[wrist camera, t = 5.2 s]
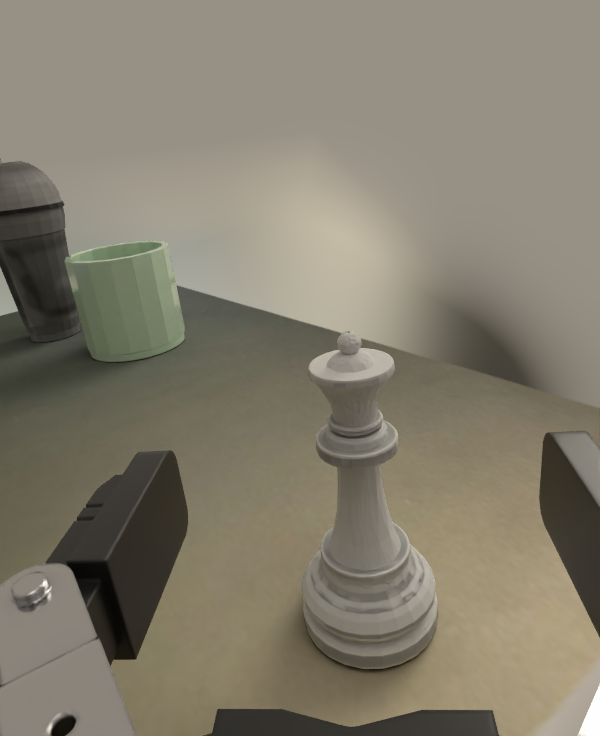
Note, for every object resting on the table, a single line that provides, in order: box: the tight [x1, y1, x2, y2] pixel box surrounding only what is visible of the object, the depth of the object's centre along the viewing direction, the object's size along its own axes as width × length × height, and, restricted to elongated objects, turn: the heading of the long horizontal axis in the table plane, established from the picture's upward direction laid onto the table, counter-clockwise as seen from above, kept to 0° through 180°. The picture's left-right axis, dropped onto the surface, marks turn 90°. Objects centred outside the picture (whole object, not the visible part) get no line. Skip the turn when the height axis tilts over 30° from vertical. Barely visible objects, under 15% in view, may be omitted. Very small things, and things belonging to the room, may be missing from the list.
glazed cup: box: [64, 241, 185, 362], centre depth 47 cm, size 8×8×8 cm
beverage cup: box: [0, 159, 81, 342], centre depth 50 cm, size 7×7×20 cm
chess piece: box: [302, 331, 438, 669], centre depth 17 cm, size 4×4×10 cm
